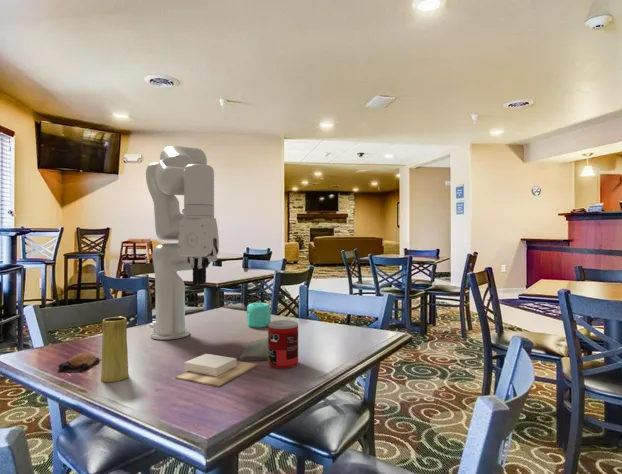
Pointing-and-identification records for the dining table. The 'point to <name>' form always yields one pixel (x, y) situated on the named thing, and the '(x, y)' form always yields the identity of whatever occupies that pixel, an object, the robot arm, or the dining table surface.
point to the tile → (210, 364)
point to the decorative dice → (258, 315)
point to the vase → (114, 350)
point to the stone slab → (256, 350)
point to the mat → (220, 379)
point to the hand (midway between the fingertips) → (199, 283)
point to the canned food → (283, 344)
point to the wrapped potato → (79, 363)
